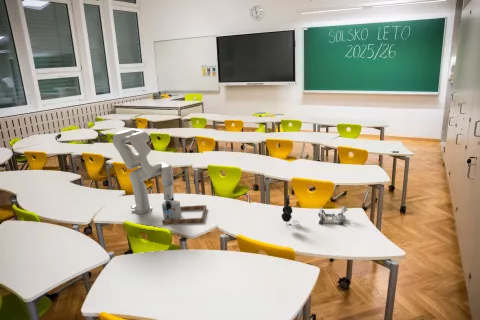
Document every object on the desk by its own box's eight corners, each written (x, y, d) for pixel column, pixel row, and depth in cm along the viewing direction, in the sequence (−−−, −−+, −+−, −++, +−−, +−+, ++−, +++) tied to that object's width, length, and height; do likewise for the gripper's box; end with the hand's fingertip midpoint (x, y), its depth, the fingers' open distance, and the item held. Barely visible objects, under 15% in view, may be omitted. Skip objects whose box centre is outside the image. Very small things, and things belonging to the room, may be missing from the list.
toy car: (347, 203, 216) (349, 211, 205) (346, 217, 219) (348, 225, 208) (318, 202, 219) (318, 210, 209) (318, 216, 222) (318, 224, 211)
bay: (162, 224, 224) (161, 220, 223) (168, 210, 244) (168, 207, 243) (203, 222, 223) (202, 218, 222) (206, 208, 243) (206, 205, 243)
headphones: (300, 232, 203) (299, 201, 197) (281, 231, 206) (280, 201, 200) (300, 220, 217) (300, 191, 212) (283, 219, 220) (282, 191, 214)
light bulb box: (163, 218, 233) (161, 203, 229) (168, 213, 239) (166, 199, 236) (177, 219, 230) (175, 204, 226) (181, 214, 236) (179, 200, 233)
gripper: (165, 178, 235) (167, 200, 240) (159, 187, 218) (162, 211, 224) (175, 177, 235) (178, 200, 240) (170, 187, 218) (173, 211, 223)
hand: (170, 205), depth 232 cm, fingers open, 9 cm apart
